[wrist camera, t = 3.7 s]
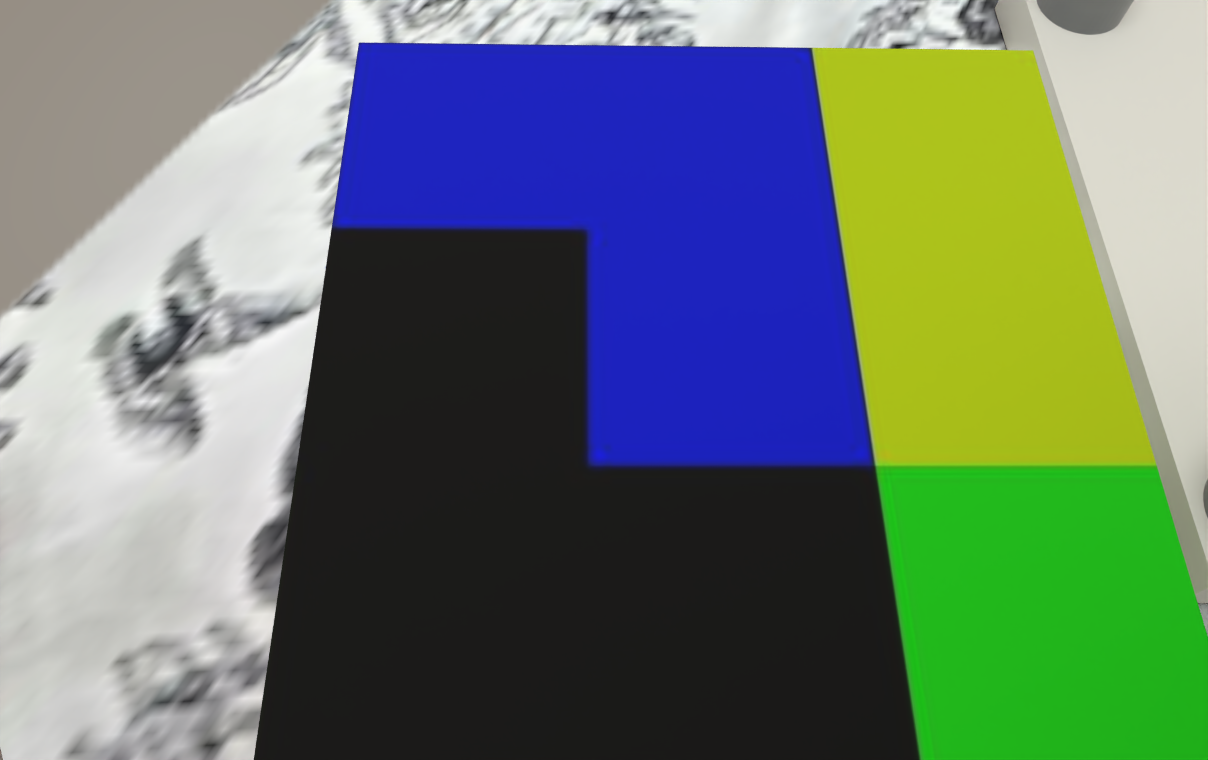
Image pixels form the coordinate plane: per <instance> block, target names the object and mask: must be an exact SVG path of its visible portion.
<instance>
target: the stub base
mask: <svg viewBox="0 0 1208 760" xmlns="http://www.w3.org/2000/svg"><path fill="white" fill-rule="evenodd" d="M995 12H996V15H997V18H998V21H999V25H1000V28H1001V31H1002V35H1003V38H1004V41H1005V45H1006V48H1007V50H1033V51H1034V55H1035V58H1036V61H1037V65H1038V68H1039V72H1040V75H1041V78H1042V82H1043V85H1044V88H1045V92H1046V95H1047V98H1048V102H1049V105H1050V109H1051V112H1052V115H1053V119H1054V122H1055V125H1056V129H1057V132H1058V135H1059V139H1060V142H1061V146H1062V149H1063V152H1064V156H1065V159H1066V162H1067V166H1068V169H1069V172H1070V176H1071V179H1072V182H1073V186H1074V189H1075V193H1076V196H1077V199H1078V203H1079V206H1080V209H1081V213H1082V216H1083V219H1084V223H1085V226H1086V230H1087V233H1088V236H1089V240H1090V243H1091V246H1092V250H1093V253H1094V256H1095V260H1096V263H1097V267H1098V270H1099V273H1100V277H1101V280H1102V283H1103V287H1104V290H1105V293H1106V297H1107V300H1108V303H1109V307H1110V310H1111V314H1112V317H1113V320H1114V324H1115V327H1116V330H1117V334H1118V337H1119V340H1120V344H1121V347H1122V351H1123V354H1124V357H1125V361H1126V364H1127V367H1128V371H1129V374H1130V377H1131V381H1132V384H1133V388H1134V391H1135V394H1136V398H1137V401H1138V404H1139V408H1140V411H1141V414H1142V418H1143V421H1144V424H1145V428H1146V431H1147V435H1148V438H1149V441H1150V445H1151V448H1152V451H1153V455H1154V458H1155V461H1156V465H1157V468H1158V472H1159V475H1160V478H1161V482H1162V485H1163V488H1164V492H1165V495H1166V498H1167V502H1168V505H1169V509H1170V512H1171V515H1172V519H1173V522H1174V525H1175V529H1176V532H1177V535H1178V539H1179V542H1180V545H1181V549H1182V552H1183V556H1184V559H1185V562H1186V566H1187V569H1188V572H1189V576H1190V579H1191V582H1192V586H1193V589H1194V593H1195V596H1196V599H1197V603H1208V0H999V1H998V3H997V5H996V7H995Z"/></svg>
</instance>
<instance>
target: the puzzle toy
mask: <svg viewBox="0 0 1208 760" xmlns="http://www.w3.org/2000/svg"><path fill="white" fill-rule="evenodd" d="M254 760H1208V636H1207V633H1206V630H1205V626H1204V623H1203V619H1202V616H1201V613H1200V609H1199V606H1198V603H1197V599H1196V596H1195V593H1194V589H1193V586H1192V582H1191V579H1190V576H1189V572H1188V569H1187V566H1186V562H1185V559H1184V556H1183V552H1182V549H1181V545H1180V542H1179V539H1178V535H1177V532H1176V529H1175V525H1174V522H1173V519H1172V515H1171V512H1170V509H1169V505H1168V502H1167V498H1166V495H1165V492H1164V488H1163V485H1162V482H1161V478H1160V475H1159V472H1158V468H1157V465H1156V461H1155V458H1154V455H1153V451H1152V448H1151V445H1150V441H1149V438H1148V435H1147V431H1146V428H1145V424H1144V421H1143V418H1142V414H1141V411H1140V408H1139V404H1138V401H1137V398H1136V394H1135V391H1134V388H1133V384H1132V381H1131V377H1130V374H1129V371H1128V367H1127V364H1126V361H1125V357H1124V354H1123V351H1122V347H1121V344H1120V340H1119V337H1118V334H1117V330H1116V327H1115V324H1114V320H1113V317H1112V314H1111V310H1110V307H1109V303H1108V300H1107V297H1106V293H1105V290H1104V287H1103V283H1102V280H1101V277H1100V273H1099V270H1098V267H1097V263H1096V260H1095V256H1094V253H1093V250H1092V246H1091V243H1090V240H1089V236H1088V233H1087V230H1086V226H1085V223H1084V219H1083V216H1082V213H1081V209H1080V206H1079V203H1078V199H1077V196H1076V193H1075V189H1074V186H1073V182H1072V179H1071V176H1070V172H1069V169H1068V166H1067V162H1066V159H1065V156H1064V152H1063V149H1062V146H1061V142H1060V139H1059V135H1058V132H1057V129H1056V125H1055V122H1054V119H1053V115H1052V112H1051V109H1050V105H1049V102H1048V98H1047V95H1046V92H1045V88H1044V85H1043V82H1042V78H1041V75H1040V72H1039V68H1038V65H1037V61H1036V58H1035V55H1034V51H1033V50H952V49H866V48H779V47H692V46H606V45H519V44H433V43H359V46H358V53H357V60H356V67H355V73H354V80H353V87H352V94H351V101H350V108H349V114H348V121H347V128H346V135H345V142H344V148H343V155H342V162H341V169H340V176H339V183H338V189H337V196H336V203H335V210H334V217H333V223H332V230H331V237H330V244H329V251H328V257H327V264H326V271H325V278H324V285H323V292H322V298H321V305H320V312H319V319H318V326H317V332H316V339H315V346H314V353H313V360H312V367H311V373H310V380H309V387H308V394H307V401H306V407H305V414H304V421H303V428H302V435H301V441H300V448H299V455H298V462H297V469H296V476H295V482H294V489H293V496H292V503H291V510H290V516H289V523H288V530H287V537H286V544H285V551H284V557H283V564H282V571H281V578H280V585H279V591H278V598H277V605H276V612H275V619H274V625H273V632H272V639H271V646H270V653H269V660H268V666H267V673H266V680H265V687H264V694H263V700H262V707H261V714H260V721H259V728H258V735H257V741H256V748H255V755H254Z"/></svg>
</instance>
